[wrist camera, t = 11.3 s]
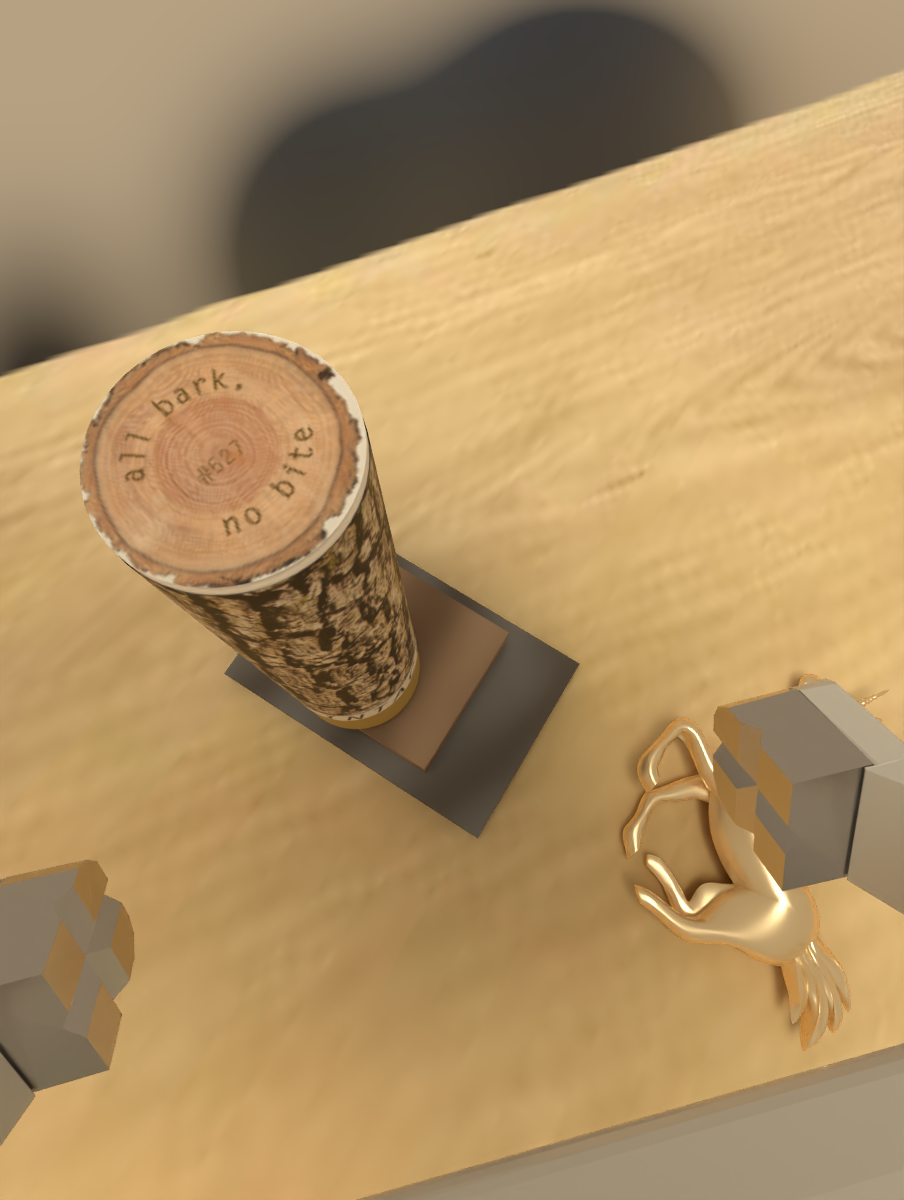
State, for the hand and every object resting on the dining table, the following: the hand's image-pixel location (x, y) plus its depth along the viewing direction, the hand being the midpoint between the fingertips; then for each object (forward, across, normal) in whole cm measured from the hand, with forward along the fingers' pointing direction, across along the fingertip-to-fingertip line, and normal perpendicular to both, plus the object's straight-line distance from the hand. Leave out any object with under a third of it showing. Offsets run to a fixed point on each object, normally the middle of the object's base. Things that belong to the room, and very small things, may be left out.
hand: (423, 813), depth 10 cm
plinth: (+32, 0, +19) cm, 37 cm away
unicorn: (+21, -10, +28) cm, 36 cm away
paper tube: (+28, +2, +16) cm, 32 cm away
